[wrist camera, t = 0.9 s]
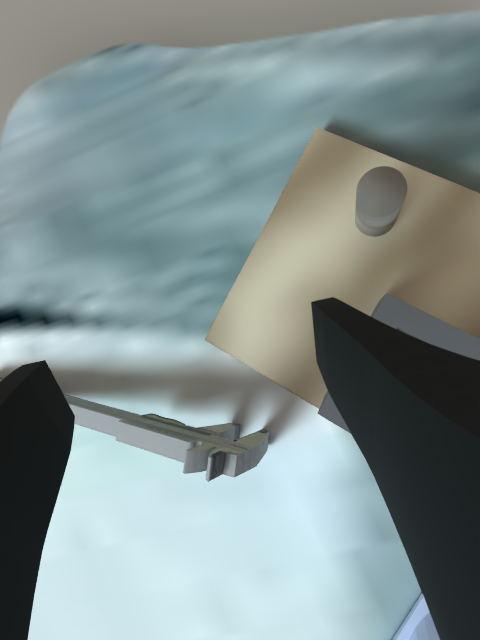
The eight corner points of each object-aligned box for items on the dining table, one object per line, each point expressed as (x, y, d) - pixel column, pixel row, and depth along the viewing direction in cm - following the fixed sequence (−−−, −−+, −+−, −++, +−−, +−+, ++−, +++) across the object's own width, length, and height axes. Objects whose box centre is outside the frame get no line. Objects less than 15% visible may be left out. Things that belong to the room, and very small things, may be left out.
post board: (583, 244, 19) (664, 214, 14) (439, 476, 20) (467, 521, 15) (318, 135, 22) (309, 81, 17) (210, 339, 24) (174, 341, 19)
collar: (488, 357, 19) (531, 364, 14) (427, 457, 19) (449, 493, 15) (378, 301, 20) (386, 293, 16) (324, 396, 21) (317, 413, 16)
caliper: (272, 428, 23) (243, 463, 17) (269, 447, 23) (240, 489, 17) (-15, 373, 28) (-117, 385, 22) (-17, 389, 28) (-120, 405, 22)
